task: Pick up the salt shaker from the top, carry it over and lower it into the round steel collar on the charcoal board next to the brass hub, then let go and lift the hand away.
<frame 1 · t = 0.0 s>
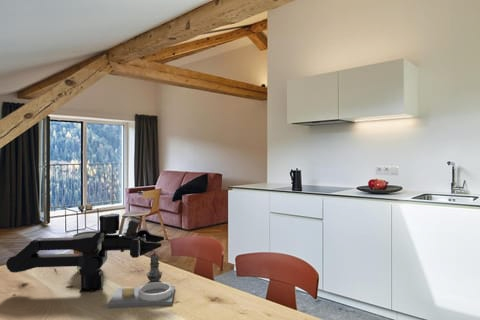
hand: (162, 241, 126), 17 cm above the table, tool horizontal, fingers open, 9 cm apart
socket board: (143, 297, 115), on the table
reusable coffee cup: (89, 270, 142), on the table
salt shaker: (154, 283, 129), on the table
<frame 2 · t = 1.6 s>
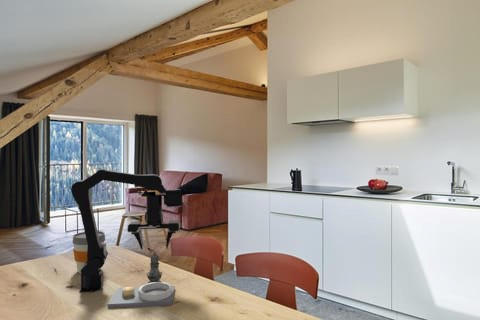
hand: (154, 248, 128), 13 cm above the table, tool pointing down, fingers open, 9 cm apart
nothing on the table moved.
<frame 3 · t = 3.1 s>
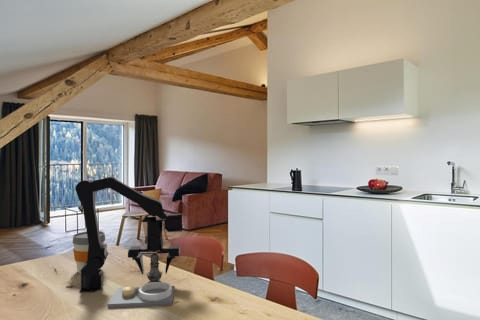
hand: (154, 273, 128), 4 cm above the table, tool pointing down, fingers closed on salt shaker, 8 cm apart
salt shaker: (154, 283, 129), on the table, touching gripper
everything else where it was.
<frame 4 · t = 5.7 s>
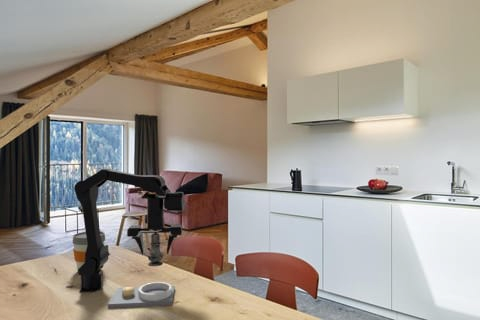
hand: (155, 254, 122), 13 cm above the table, tool pointing down, fingers closed on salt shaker, 8 cm apart
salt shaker: (155, 264, 122), point 9 cm above the table, touching gripper
everything else where it was.
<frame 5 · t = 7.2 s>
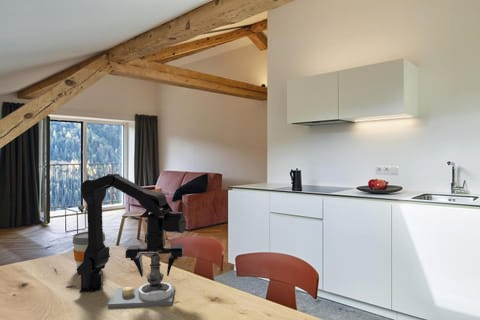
hand: (155, 276, 116), 7 cm above the table, tool pointing down, fingers closed on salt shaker, 8 cm apart
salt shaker: (155, 286, 116), point 4 cm above the table, touching gripper
everything else where it was.
when the fingers open (6 cm above the table, at t = 8.6 s): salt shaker stays where it is, resting on socket board.
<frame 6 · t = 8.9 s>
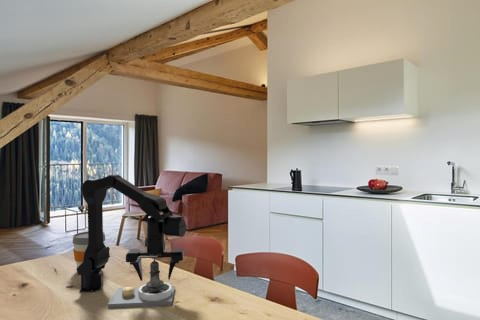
hand: (155, 279, 116), 6 cm above the table, tool pointing down, fingers open, 9 cm apart
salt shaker: (155, 294, 116), point 1 cm above the table, touching socket board
everything else where it was.
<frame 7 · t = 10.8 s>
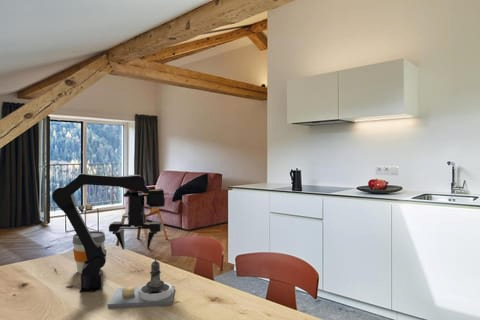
hand: (135, 249, 128), 13 cm above the table, tool pointing down, fingers open, 9 cm apart
nothing on the table moved.
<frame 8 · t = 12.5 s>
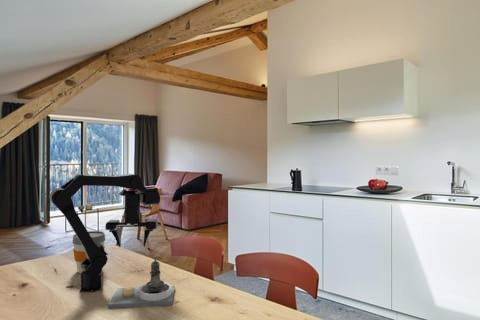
hand: (132, 246, 131), 13 cm above the table, tool pointing down, fingers open, 9 cm apart
nothing on the table moved.
at the end: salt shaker 0.0 cm from the target spot on the socket board, point 1.0 cm above the socket board's base; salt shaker tilted 0°; the gripper is holding nothing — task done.
